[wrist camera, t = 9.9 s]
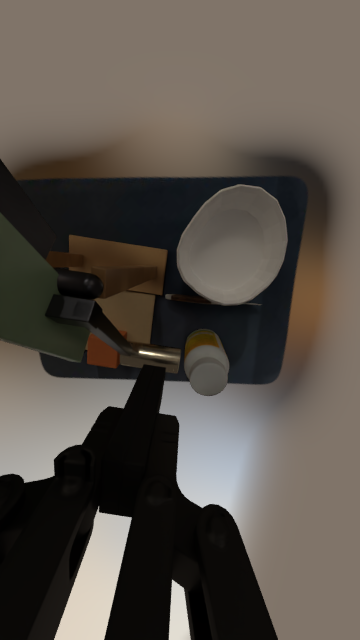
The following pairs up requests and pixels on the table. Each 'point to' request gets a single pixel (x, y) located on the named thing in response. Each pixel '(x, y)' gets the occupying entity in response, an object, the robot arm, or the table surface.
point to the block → (102, 352)
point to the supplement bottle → (206, 362)
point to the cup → (233, 245)
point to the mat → (130, 314)
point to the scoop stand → (115, 264)
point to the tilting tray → (54, 293)
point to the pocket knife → (193, 299)
